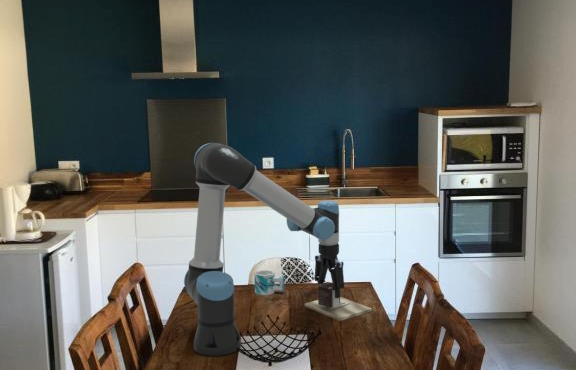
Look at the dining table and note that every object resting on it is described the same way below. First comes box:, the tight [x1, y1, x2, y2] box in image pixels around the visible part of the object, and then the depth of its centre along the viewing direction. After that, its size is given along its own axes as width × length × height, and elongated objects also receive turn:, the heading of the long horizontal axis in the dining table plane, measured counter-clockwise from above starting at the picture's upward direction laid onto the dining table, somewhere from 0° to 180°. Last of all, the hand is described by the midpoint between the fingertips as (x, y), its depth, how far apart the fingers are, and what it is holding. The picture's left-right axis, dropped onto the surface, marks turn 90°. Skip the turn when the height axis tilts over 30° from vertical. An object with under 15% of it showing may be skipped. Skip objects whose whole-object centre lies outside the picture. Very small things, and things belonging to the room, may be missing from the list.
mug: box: [254, 269, 285, 296], centre depth 246 cm, size 8×12×8 cm
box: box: [317, 281, 340, 308], centre depth 223 cm, size 6×6×7 cm
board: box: [304, 296, 373, 322], centre depth 226 cm, size 16×20×1 cm
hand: (329, 303), depth 223 cm, fingers closed on box, 7 cm apart
